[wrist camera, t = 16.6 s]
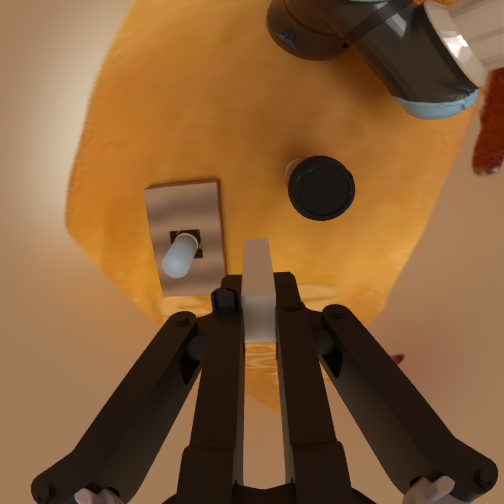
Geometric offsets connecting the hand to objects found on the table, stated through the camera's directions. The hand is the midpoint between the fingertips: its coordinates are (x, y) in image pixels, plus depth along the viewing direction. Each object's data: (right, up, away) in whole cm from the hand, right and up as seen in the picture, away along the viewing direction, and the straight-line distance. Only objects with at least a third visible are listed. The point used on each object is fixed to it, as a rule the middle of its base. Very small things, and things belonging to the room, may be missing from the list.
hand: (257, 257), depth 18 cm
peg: (-11, +3, +31) cm, 33 cm away
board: (-11, +3, +31) cm, 33 cm away
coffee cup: (+8, +14, +28) cm, 32 cm away
